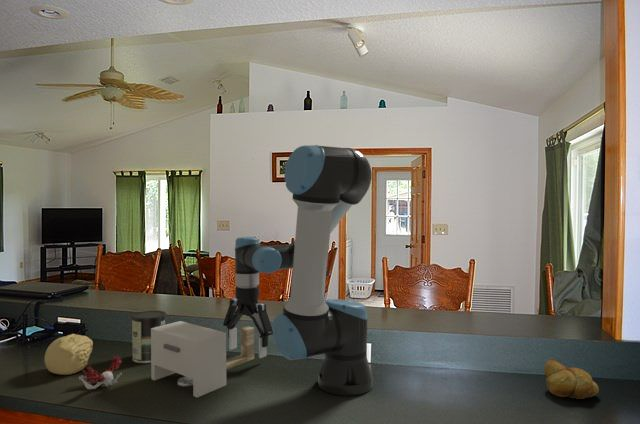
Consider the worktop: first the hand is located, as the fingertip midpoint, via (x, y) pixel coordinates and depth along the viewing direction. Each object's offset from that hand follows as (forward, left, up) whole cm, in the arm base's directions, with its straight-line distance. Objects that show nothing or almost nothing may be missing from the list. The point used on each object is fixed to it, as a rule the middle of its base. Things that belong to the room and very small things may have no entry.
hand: (247, 352), depth 149 cm
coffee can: (+26, +18, -2) cm, 32 cm away
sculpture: (+35, +39, -2) cm, 52 cm away
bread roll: (-87, -32, -2) cm, 93 cm away
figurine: (+17, +39, -2) cm, 43 cm away
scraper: (0, +8, -2) cm, 8 cm away
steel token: (0, +24, -2) cm, 24 cm away
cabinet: (0, +23, -2) cm, 23 cm away
